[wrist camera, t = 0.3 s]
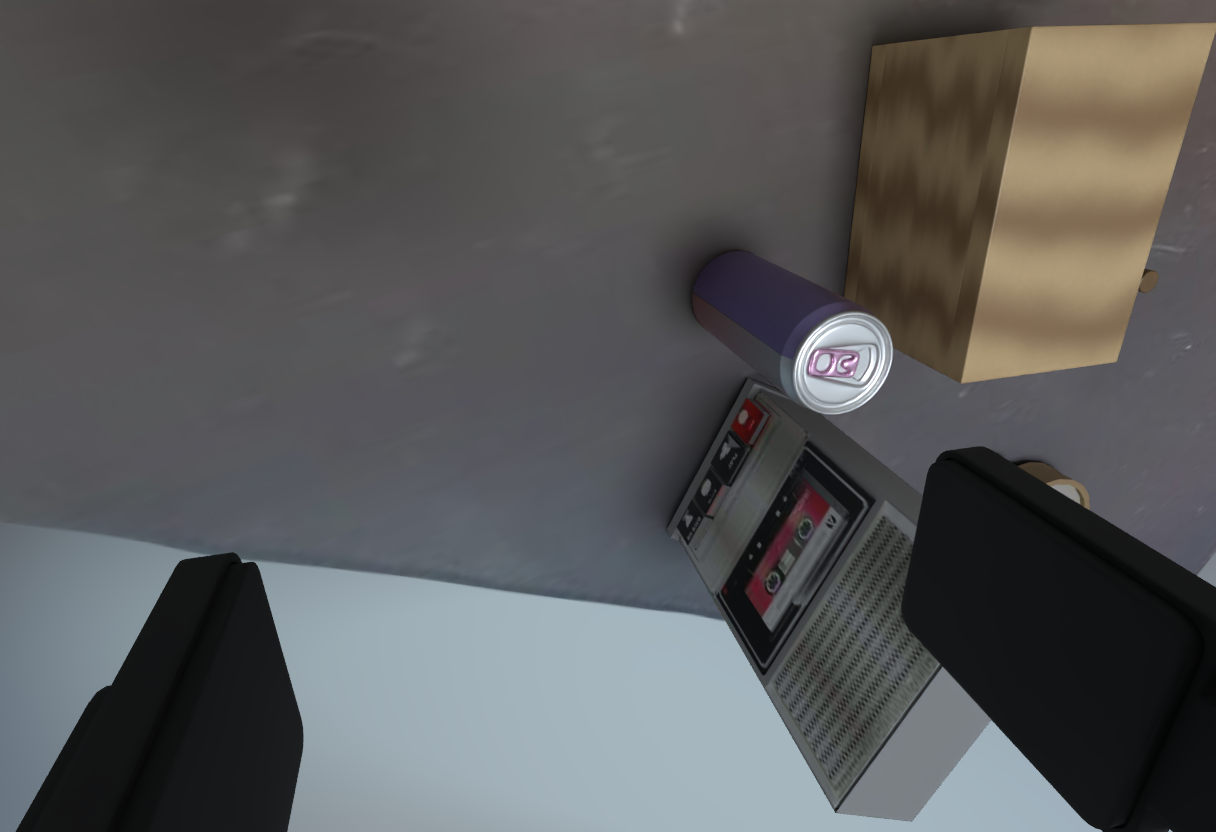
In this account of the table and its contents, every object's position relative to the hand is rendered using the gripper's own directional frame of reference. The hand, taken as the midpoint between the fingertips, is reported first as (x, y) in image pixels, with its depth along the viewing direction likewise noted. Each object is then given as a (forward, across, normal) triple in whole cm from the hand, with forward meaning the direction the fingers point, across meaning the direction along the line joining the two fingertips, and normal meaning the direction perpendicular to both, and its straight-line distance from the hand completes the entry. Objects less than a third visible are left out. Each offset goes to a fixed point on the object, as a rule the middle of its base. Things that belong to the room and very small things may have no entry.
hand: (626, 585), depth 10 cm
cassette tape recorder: (+37, -18, +20) cm, 46 cm away
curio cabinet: (+36, -32, 0) cm, 49 cm away
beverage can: (+37, -17, +6) cm, 41 cm away
